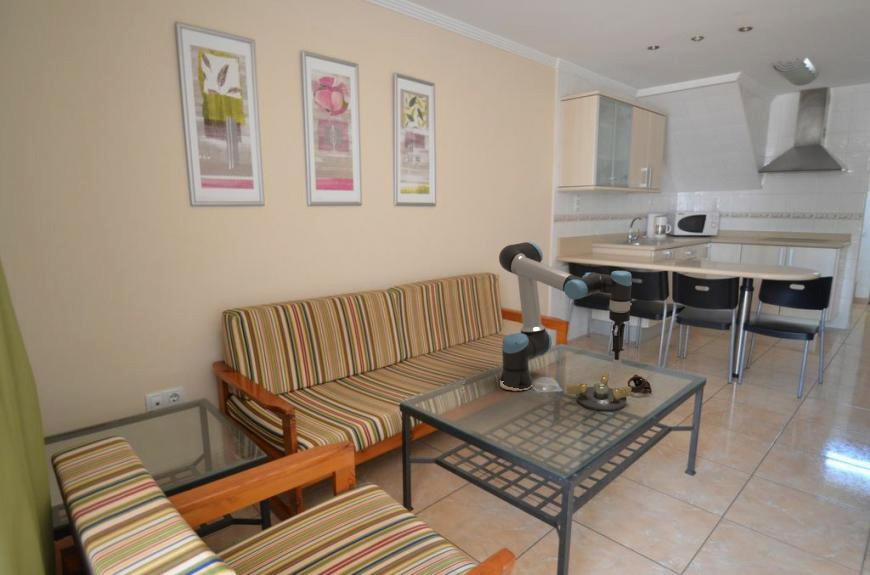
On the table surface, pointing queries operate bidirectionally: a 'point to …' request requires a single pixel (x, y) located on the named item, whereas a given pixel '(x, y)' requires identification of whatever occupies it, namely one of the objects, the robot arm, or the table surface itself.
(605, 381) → the knob
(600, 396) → the tribrach
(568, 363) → the table surface
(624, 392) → the knob
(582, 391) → the knob
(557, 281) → the robot arm
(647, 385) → the brown animal skull
